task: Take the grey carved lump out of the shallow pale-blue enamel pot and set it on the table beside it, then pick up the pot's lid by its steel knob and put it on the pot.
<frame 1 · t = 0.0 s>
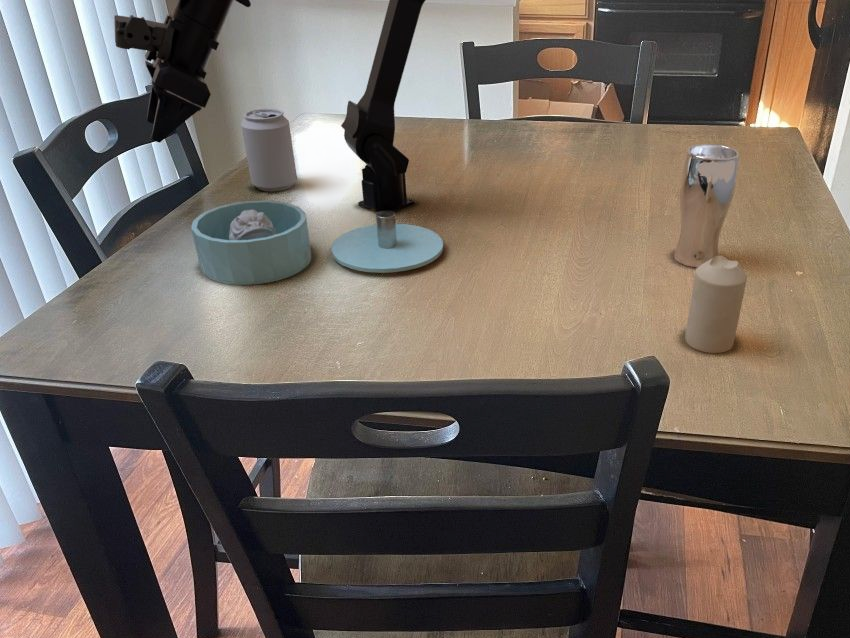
hand: (152, 131, 103), 15 cm above the table, tool tilted 35°, fingers open, 9 cm apart
grey carved lump: (257, 259, 104), resting in pot
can: (275, 186, 129), on the table
pot: (257, 261, 104), on the table
beer glass: (695, 259, 107), on the table
candle: (708, 342, 88), on the table
lid: (388, 248, 107), point 1 cm above the table
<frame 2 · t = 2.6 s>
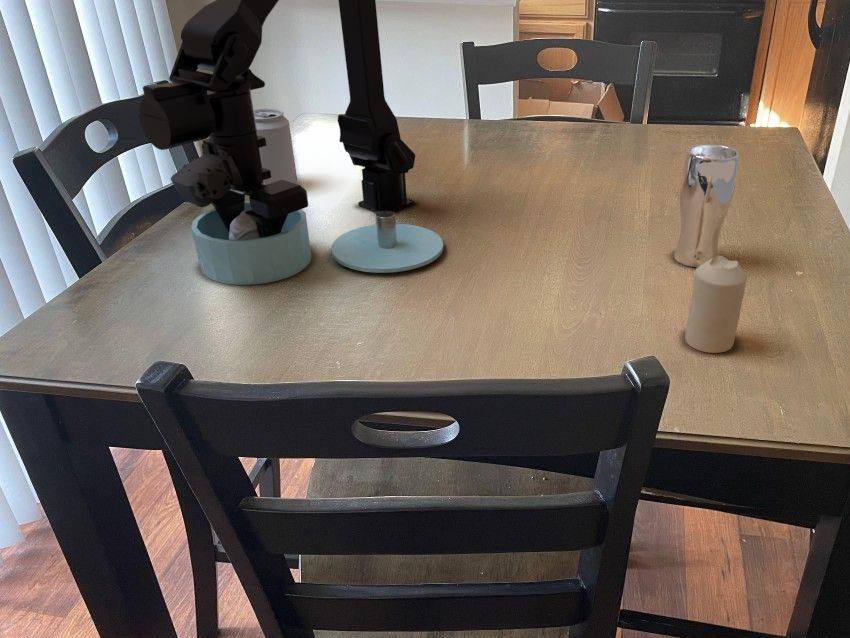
hand: (253, 248, 103), 2 cm above the table, tool pointing down, fingers closed on grey carved lump, 6 cm apart
grey carved lump: (257, 259, 104), resting in pot, touching gripper
everything else where it was.
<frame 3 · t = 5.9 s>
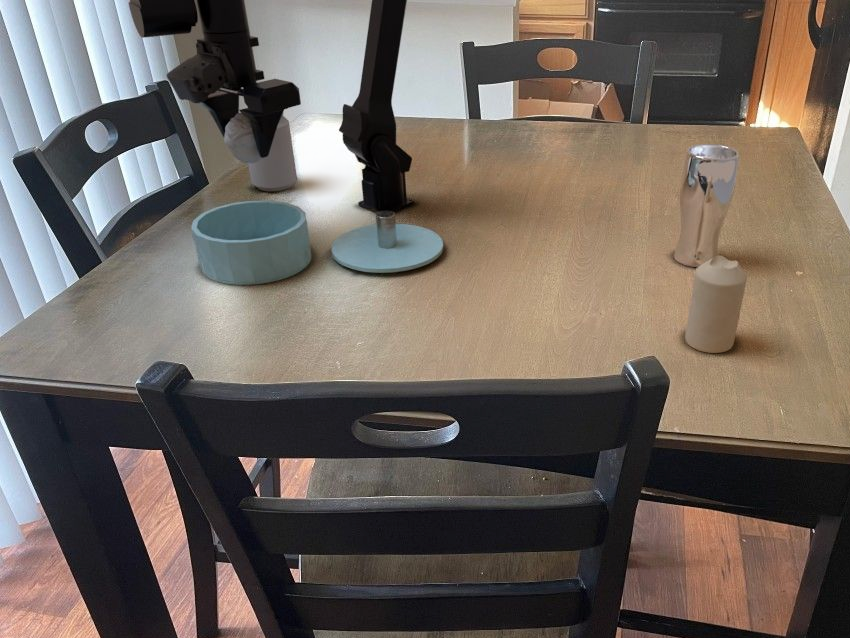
hand: (248, 152, 106), 12 cm above the table, tool pointing down, fingers closed on grey carved lump, 6 cm apart
grey carved lump: (252, 164, 107), point 10 cm above the table, touching gripper
everything else where it was.
when the fingers open (1 cm above the table, at t = 9.0 s): grey carved lump stays where it is, on the table.
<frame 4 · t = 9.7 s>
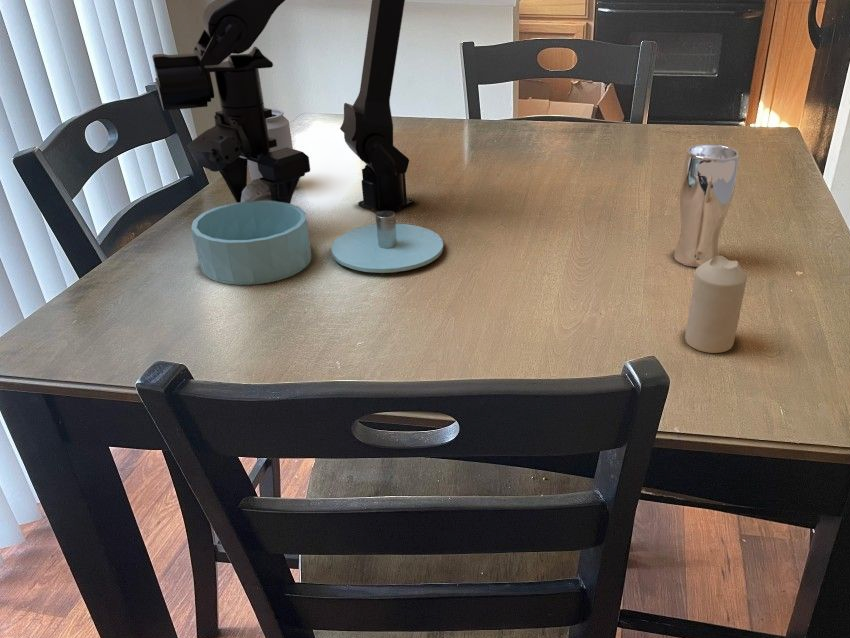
hand: (261, 211, 114), 2 cm above the table, tool pointing down, fingers open, 9 cm apart
grey carved lump: (265, 224, 115), on the table
everything else where it was.
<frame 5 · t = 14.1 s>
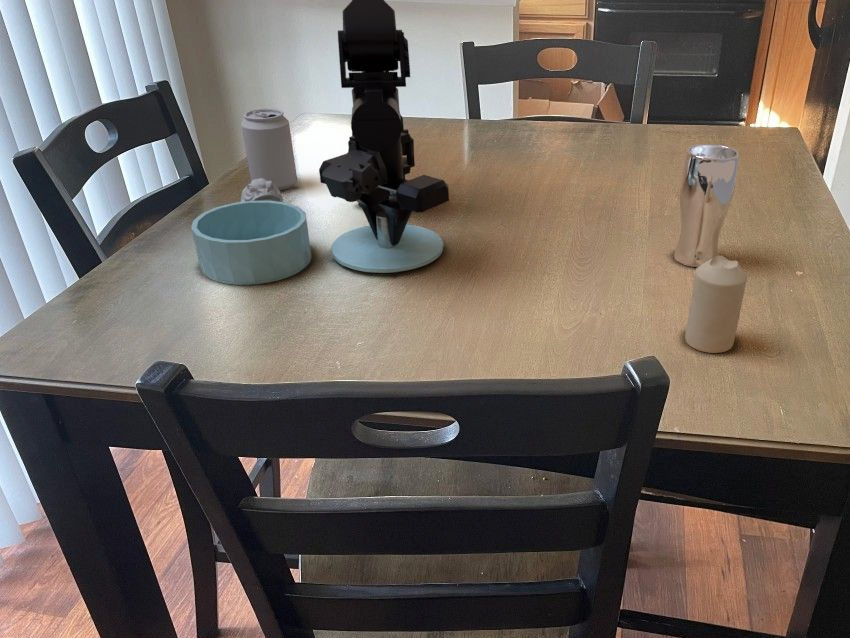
hand: (387, 241, 106), 2 cm above the table, tool pointing down, fingers closed on lid, 2 cm apart
lid: (388, 248, 107), point 1 cm above the table, touching gripper
everything else where it was.
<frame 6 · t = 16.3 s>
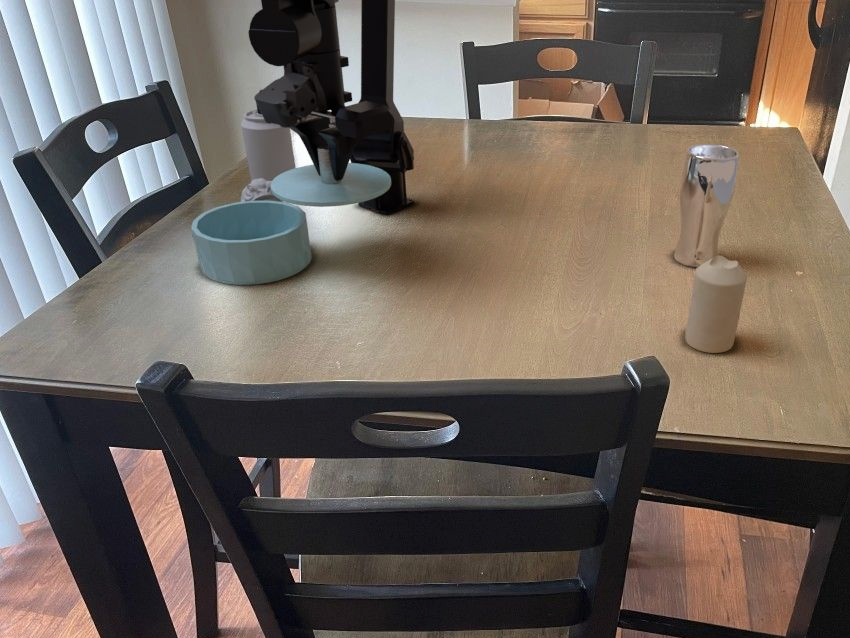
hand: (330, 177, 100), 11 cm above the table, tool pointing down, fingers closed on lid, 2 cm apart
lid: (332, 185, 100), point 10 cm above the table, touching gripper
everything else where it was.
when the fingers open (7 cm above the table, at t = 18.7 s): lid stays where it is, resting on pot.
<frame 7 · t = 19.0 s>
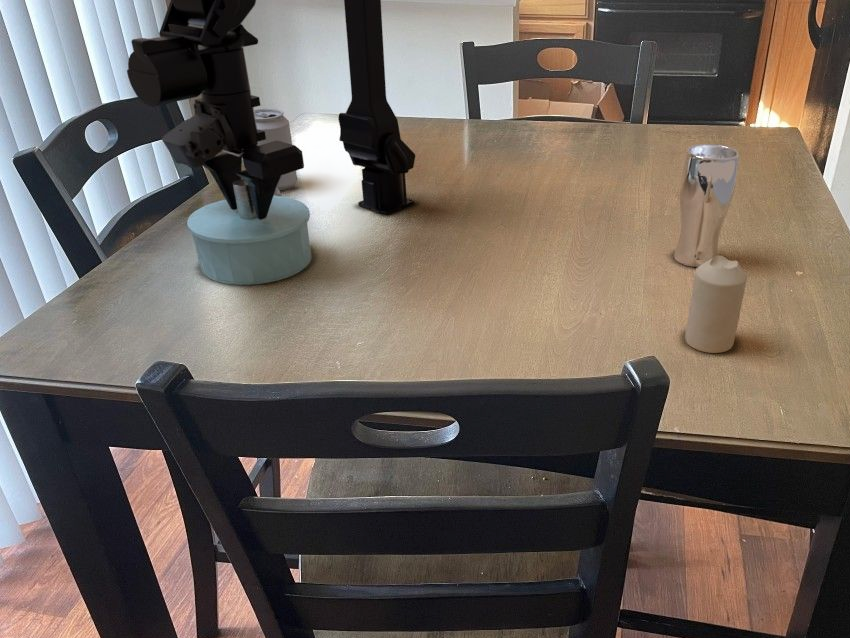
hand: (248, 213, 100), 7 cm above the table, tool pointing down, fingers open, 5 cm apart
lid: (250, 220, 101), point 6 cm above the table, touching pot
everything else where it was.
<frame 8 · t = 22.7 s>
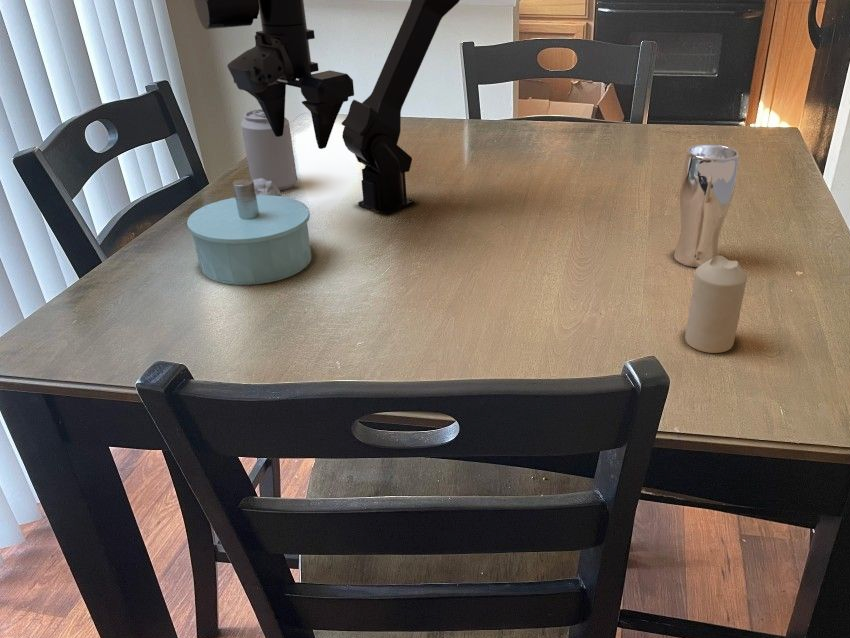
hand: (300, 142, 109), 12 cm above the table, tool pointing down, fingers open, 9 cm apart
nothing on the table moved.
at the end: grey carved lump inside the target area (1.1 cm from its centre), on the table; lid 0.0 cm off-centre on the pot, point 5.9 cm above the pot's base; lid tilted 0° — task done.
